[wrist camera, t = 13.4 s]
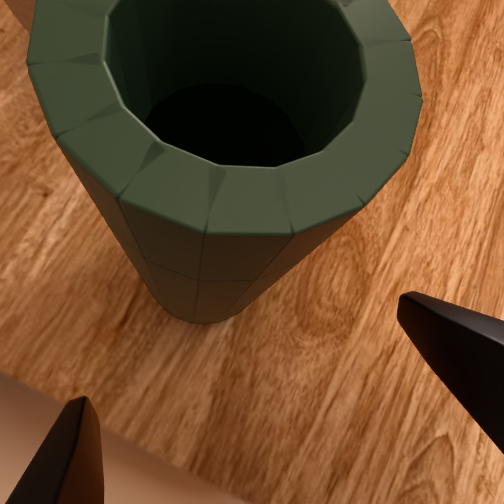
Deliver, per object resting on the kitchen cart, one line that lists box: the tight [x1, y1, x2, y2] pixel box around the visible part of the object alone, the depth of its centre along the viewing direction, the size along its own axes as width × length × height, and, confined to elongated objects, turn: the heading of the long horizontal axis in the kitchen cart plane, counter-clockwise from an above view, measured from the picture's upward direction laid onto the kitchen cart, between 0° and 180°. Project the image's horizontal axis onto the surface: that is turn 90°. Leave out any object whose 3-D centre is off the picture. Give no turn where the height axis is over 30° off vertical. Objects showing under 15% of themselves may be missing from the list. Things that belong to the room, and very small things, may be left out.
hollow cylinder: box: [26, 0, 423, 324], centre depth 12 cm, size 6×6×14 cm
